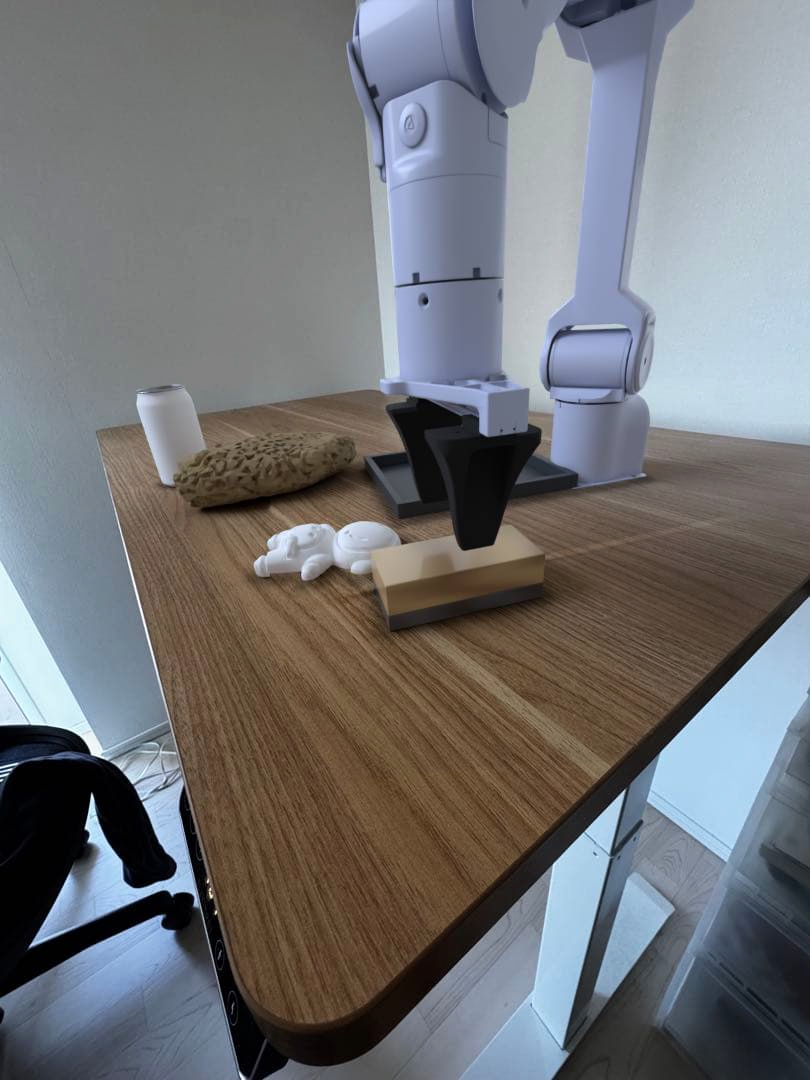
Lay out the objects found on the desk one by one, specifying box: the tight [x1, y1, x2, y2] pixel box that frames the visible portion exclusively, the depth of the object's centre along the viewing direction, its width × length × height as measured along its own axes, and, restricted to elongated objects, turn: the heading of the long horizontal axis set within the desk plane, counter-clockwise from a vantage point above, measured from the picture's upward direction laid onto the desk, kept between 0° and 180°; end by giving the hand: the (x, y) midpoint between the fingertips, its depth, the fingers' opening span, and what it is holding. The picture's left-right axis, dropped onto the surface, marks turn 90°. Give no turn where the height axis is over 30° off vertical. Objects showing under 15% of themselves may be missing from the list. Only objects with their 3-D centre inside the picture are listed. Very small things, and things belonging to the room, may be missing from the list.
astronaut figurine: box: [253, 520, 402, 582], centre depth 38 cm, size 9×12×3 cm
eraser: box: [370, 524, 546, 632], centre depth 31 cm, size 11×5×4 cm, turn 105°
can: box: [135, 384, 207, 488], centre depth 58 cm, size 6×6×12 cm
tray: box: [363, 450, 578, 520], centre depth 53 cm, size 20×18×2 cm
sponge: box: [173, 431, 357, 509], centre depth 53 cm, size 13×8×20 cm
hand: (453, 520), depth 30 cm, fingers open, 7 cm apart
